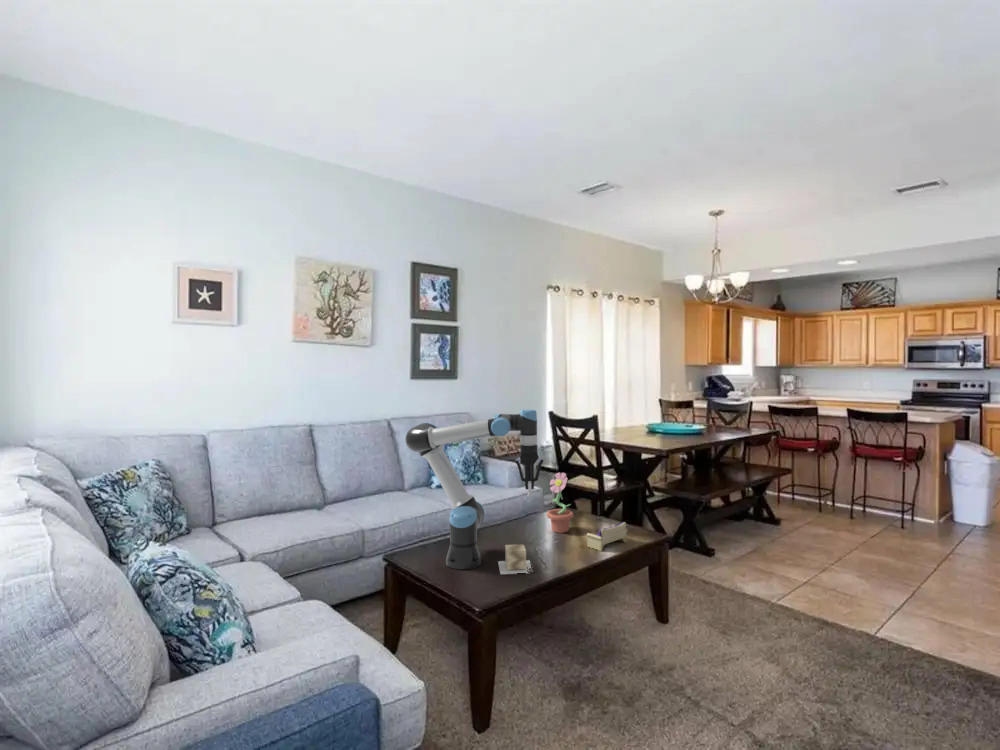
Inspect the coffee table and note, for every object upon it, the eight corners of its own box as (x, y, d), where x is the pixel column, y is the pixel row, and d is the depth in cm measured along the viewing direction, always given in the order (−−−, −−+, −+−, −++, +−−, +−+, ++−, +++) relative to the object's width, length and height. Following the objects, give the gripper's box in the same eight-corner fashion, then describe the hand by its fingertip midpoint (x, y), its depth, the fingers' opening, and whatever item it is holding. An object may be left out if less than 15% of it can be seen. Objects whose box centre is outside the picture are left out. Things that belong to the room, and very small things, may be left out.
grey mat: (500, 574, 231) (500, 573, 231) (497, 561, 245) (497, 561, 245) (534, 573, 232) (534, 572, 232) (529, 560, 246) (529, 560, 246)
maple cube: (526, 550, 234) (526, 570, 235) (523, 544, 242) (523, 562, 243) (507, 551, 234) (507, 570, 234) (505, 544, 242) (505, 563, 242)
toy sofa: (613, 537, 277) (613, 517, 277) (627, 542, 271) (627, 521, 271) (586, 547, 263) (586, 526, 263) (600, 552, 257) (600, 530, 257)
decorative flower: (539, 529, 290) (539, 472, 289) (559, 524, 299) (559, 468, 298) (559, 536, 278) (559, 477, 277) (579, 531, 287) (579, 473, 286)
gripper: (542, 442, 254) (543, 494, 255) (514, 443, 254) (514, 494, 255) (544, 445, 247) (544, 498, 247) (514, 445, 247) (515, 498, 247)
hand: (529, 496), depth 251 cm, fingers closed
